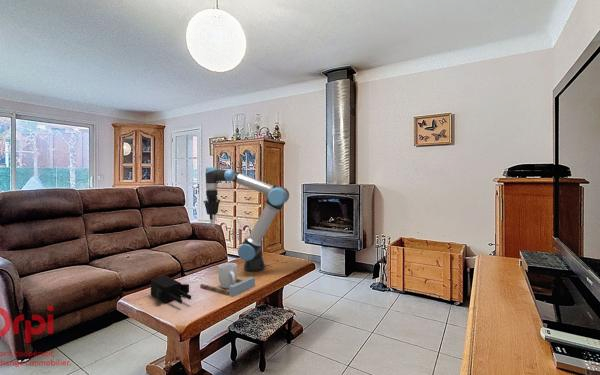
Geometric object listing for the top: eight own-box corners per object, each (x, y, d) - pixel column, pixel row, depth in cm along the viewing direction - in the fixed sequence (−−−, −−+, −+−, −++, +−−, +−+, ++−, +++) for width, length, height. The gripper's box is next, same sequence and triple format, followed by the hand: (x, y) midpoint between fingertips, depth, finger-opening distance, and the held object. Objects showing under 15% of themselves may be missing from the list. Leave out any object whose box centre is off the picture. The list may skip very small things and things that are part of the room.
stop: (229, 295, 164) (228, 286, 164) (251, 285, 180) (251, 277, 179) (233, 296, 162) (232, 287, 162) (254, 286, 178) (254, 277, 178)
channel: (200, 288, 176) (200, 284, 176) (224, 278, 192) (223, 275, 192) (228, 295, 164) (227, 291, 164) (250, 284, 180) (250, 281, 180)
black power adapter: (201, 304, 156) (173, 289, 175) (201, 286, 155) (173, 273, 175) (170, 315, 143) (144, 297, 162) (170, 296, 143) (144, 281, 162)
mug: (243, 289, 173) (242, 267, 173) (225, 293, 167) (224, 270, 166) (233, 282, 185) (232, 261, 185) (216, 286, 179) (215, 264, 178)
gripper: (215, 189, 209) (216, 222, 209) (200, 190, 198) (201, 225, 198) (222, 189, 205) (223, 223, 206) (207, 190, 194) (208, 225, 194)
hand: (212, 224), depth 202 cm, fingers closed
